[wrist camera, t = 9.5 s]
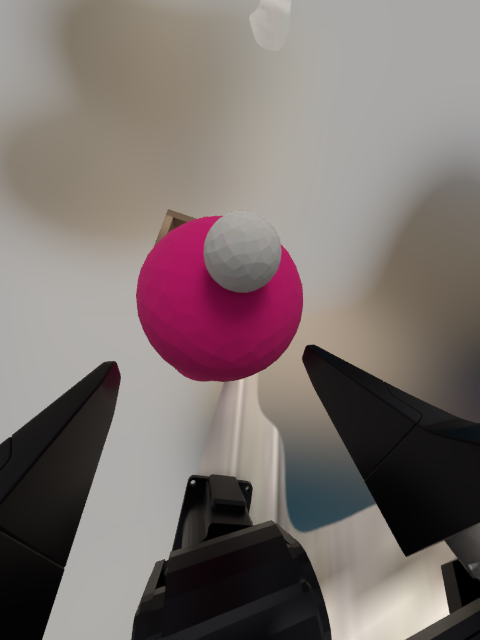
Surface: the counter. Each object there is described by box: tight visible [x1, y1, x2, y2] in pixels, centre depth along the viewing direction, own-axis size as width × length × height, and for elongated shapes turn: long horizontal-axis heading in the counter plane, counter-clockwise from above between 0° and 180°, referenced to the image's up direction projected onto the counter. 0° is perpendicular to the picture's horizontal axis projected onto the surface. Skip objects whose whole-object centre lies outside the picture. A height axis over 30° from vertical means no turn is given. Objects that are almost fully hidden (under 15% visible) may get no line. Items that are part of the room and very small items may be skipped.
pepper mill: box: [136, 211, 303, 382], centre depth 13 cm, size 7×7×20 cm
